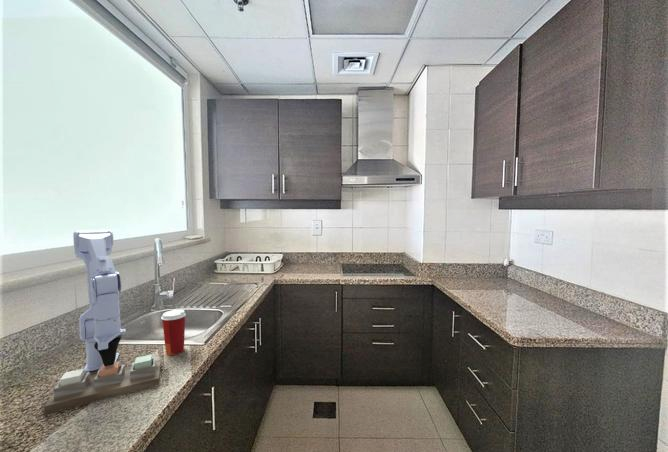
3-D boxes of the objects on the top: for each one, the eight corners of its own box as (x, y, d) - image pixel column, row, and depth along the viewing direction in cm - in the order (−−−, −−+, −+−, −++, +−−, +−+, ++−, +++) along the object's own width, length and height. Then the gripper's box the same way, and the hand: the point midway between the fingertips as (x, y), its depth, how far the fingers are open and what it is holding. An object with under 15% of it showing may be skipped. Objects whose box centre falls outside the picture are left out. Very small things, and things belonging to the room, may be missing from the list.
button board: (61, 388, 81) (60, 373, 81) (160, 365, 93) (160, 352, 93) (44, 414, 71) (43, 396, 71) (159, 385, 82) (158, 370, 82)
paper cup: (191, 346, 107) (189, 308, 106) (180, 356, 99) (179, 316, 98) (169, 346, 107) (168, 309, 106) (157, 357, 99) (155, 316, 98)
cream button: (65, 381, 79) (65, 372, 79) (84, 376, 81) (84, 368, 81) (60, 388, 75) (60, 379, 75) (80, 384, 77) (80, 375, 77)
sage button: (136, 365, 86) (136, 357, 86) (152, 362, 88) (151, 354, 88) (134, 371, 83) (134, 363, 83) (151, 368, 85) (150, 360, 85)
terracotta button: (102, 372, 83) (102, 364, 82) (119, 369, 85) (119, 361, 84) (99, 379, 79) (99, 371, 79) (117, 375, 81) (117, 367, 81)
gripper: (120, 322, 77) (122, 372, 77) (128, 307, 89) (130, 350, 90) (86, 328, 73) (89, 380, 74) (99, 311, 86) (101, 356, 87)
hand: (109, 364), depth 82 cm, fingers closed
